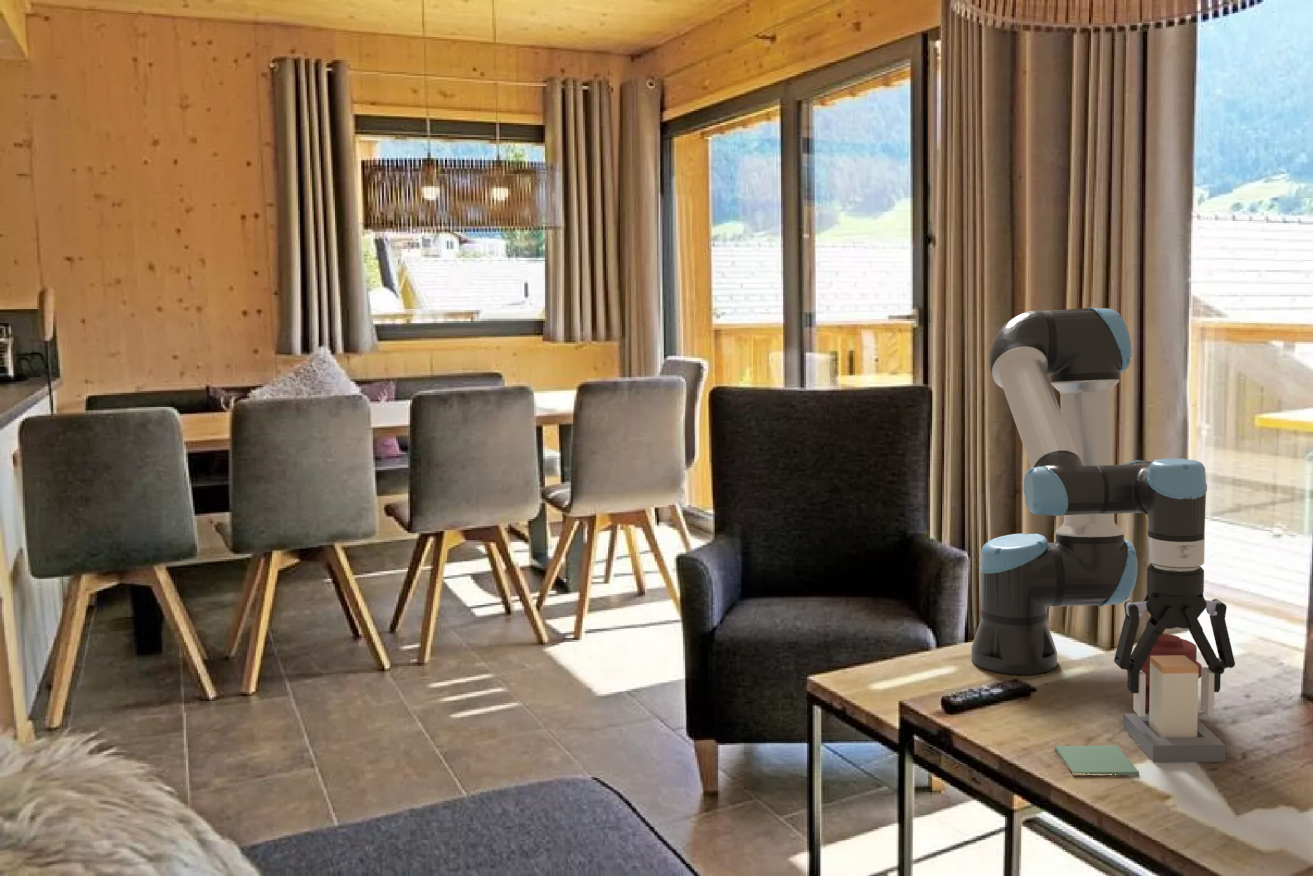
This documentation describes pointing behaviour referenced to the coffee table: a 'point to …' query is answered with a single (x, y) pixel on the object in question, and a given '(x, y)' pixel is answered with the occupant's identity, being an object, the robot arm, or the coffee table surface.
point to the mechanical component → (1169, 647)
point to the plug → (1173, 696)
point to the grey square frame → (1175, 743)
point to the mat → (1096, 760)
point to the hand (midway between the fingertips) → (1172, 712)
